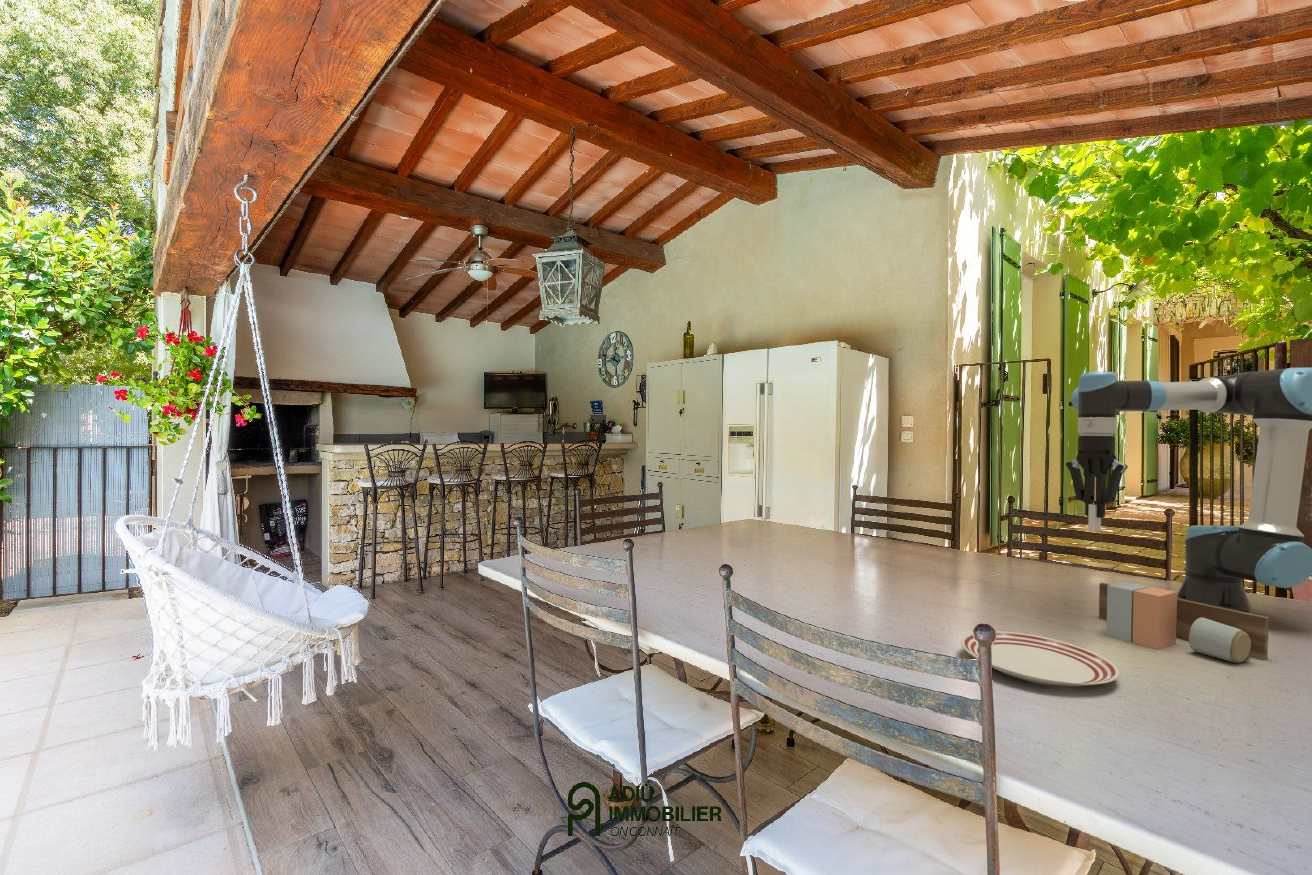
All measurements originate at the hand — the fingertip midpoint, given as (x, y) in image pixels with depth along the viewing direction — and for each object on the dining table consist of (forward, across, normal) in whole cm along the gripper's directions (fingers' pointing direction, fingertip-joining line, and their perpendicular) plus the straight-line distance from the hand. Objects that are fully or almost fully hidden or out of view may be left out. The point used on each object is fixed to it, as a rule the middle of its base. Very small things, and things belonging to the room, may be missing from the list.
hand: (1094, 530), depth 152 cm
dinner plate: (+24, +9, -39) cm, 47 cm away
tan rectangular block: (+24, +13, 0) cm, 27 cm away
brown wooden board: (+24, +13, +10) cm, 29 cm away
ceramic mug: (+24, +24, +4) cm, 34 cm away
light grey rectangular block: (+24, +8, 0) cm, 25 cm away
